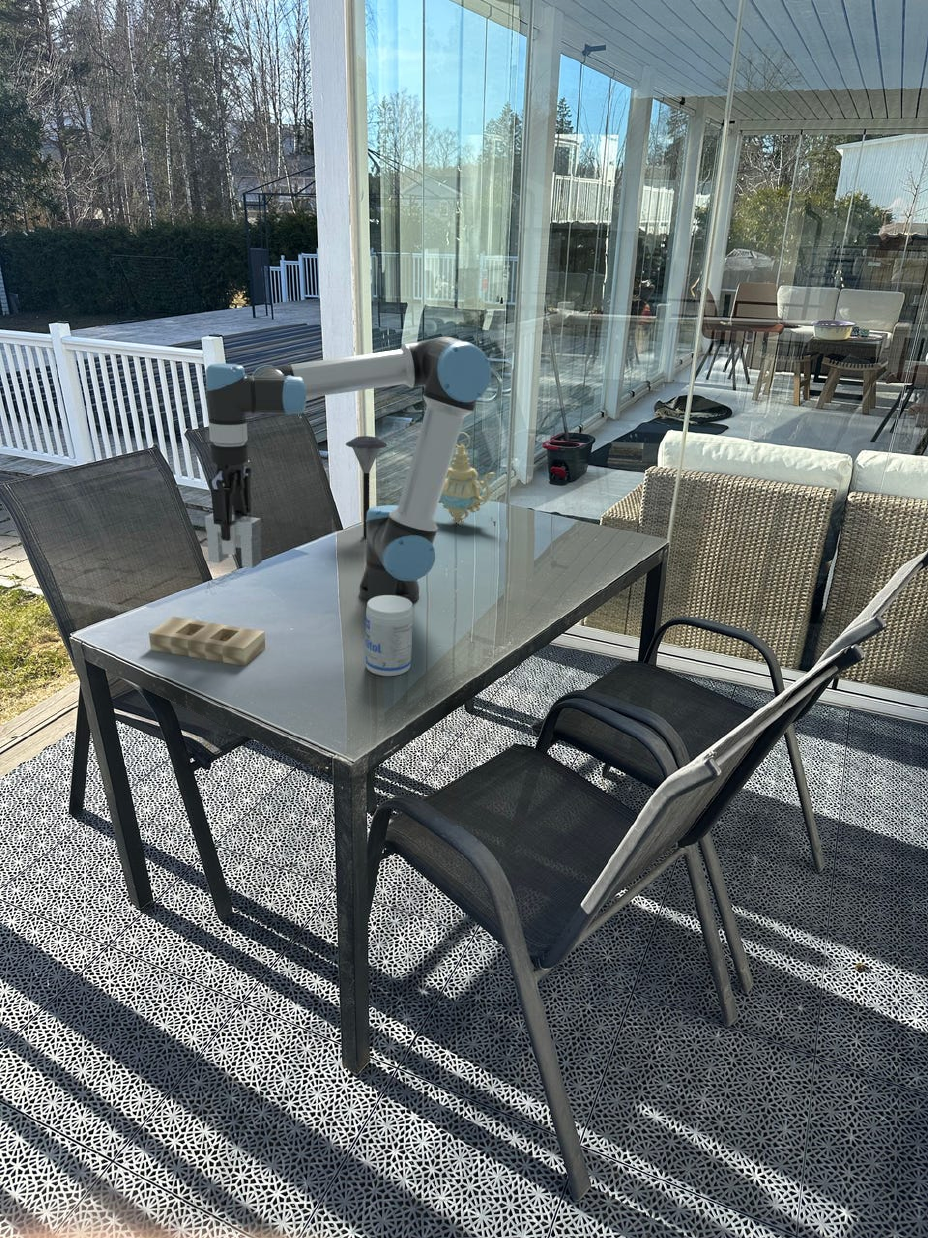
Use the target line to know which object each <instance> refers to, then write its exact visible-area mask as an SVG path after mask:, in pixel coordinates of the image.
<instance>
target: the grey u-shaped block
mask: <svg viewBox="0 0 928 1238" xmlns="http://www.w3.org/2000/svg"><path fill="white" fill-rule="evenodd" d="M204 523H205V524H204V525H205V531H206V537H207V538H206V539H207V553H208V562H212V563H219V564H220V563H221V562H223V561H225V560H227V559H228V558H229V557H230V554H223V552H222V538H221V526H220V525H217V524H214V520H213V512H212V513H210V514H207V515H205V516H204ZM231 525H234V532H235V535H240V536H241V548H240V550H241V551H240V552H241V567H243V568H249V569H253V568H256V567H257V566H259V565H260V564H261V563H262V560H263V559H262V540H261V539H262V538H261V537H262V536H261V533H262V519H261V518H260V517H259V518H258V517H253V516H252V517H251V516H250V517H246V516H239V515H234V514H232V524H231Z"/></svg>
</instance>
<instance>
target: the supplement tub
mask: <svg viewBox="0 0 928 1238" xmlns="http://www.w3.org/2000/svg"><path fill="white" fill-rule="evenodd" d="M365 611H366V612H365V650H364V651H365V656H364V657H365V659H364V660H365V668H367V670H368V671H369V672H371V673H372V674H374V675H378V676H382V677H396V676H400V675H403V674H405V673H406V672H408V671H409V669H410V668H411V665H412V662H411V661H412V644H413V641H412V639H413V622H414V620H413V618H414V607H413V602H411V601H410V600H408V599H406V598H404V597H401V596H395V595H382V596H377V597H374V598H372V599H370V600H369V601H368V602H367V604H366V610H365Z"/></svg>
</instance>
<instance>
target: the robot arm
mask: <svg viewBox="0 0 928 1238" xmlns="http://www.w3.org/2000/svg"><path fill="white" fill-rule="evenodd" d="M491 380H492V369H491V363H490V360H489V358H488V357H487V355H486V353H485V352H484V351H483V350H482V349H480V348H479V347H478V346H476V345H475V344H473V343H471V342H469V341H464V340H460V339H458V338H455V337H452V336H451V337H450V336H440V337H436V338H431V339H426V340H421V341H416V342H410V343H404V344H402V346H401V347H400V348H399V349H394V350H387V351H379V352H372V353H367V354H366V353H365V354H364V353H363V354H358V355H357V354H356V355H351V356H343V357H335V358H328V359H320V360H314V361H307V362H299V363H291V364H287V365H284V364H283V365H277V366H274V365H262V366H259V367H257V368H256V369H255V370H254V372H253V373H252V375H249V374H246V372H245V368H244V366H243V365H240V364H235V363H213V364H210V365H208V366H207V368H206V370H205V392H206V402H207V403H206V404H207V415H208V429H209V431H208V432H209V440H210V442H211V444H210V445H209V451H210V460H211V462H212V463H214V464H215V465H216V471H215V475H216V476H215V477H214V478H209V479H208V486H209V488H210V496H211V507H212V513H213V520H214V524H217V525H220V526H221V538H222V552H223V554H229V556H230V555H231V556H235V555H236V553H237V551H236V548H238V549H241V536H240V535H235V532H234V525H231V524H232V515H239V516H246V517H251V511H252V496H251V495H252V492H251V476H252V468H251V467H246V466H245V464H246V463H247V462H248V461H249V445H248V444H247V442H248V440H249V438H248V424H247V421H248V420H247V414H251V415H252V414H253V415H254V414H255V415H256V414H267V415H268V414H269V415H270V414H271V415H287V416H289V415H294V414H302V413H304V412H305V411H306V406H307V399H310V398H316V397H322V396H323V397H324V396H331V395H336V394H338V395H339V394H344V393H350V392H358V391H365V390H370V389H372V390H373V389H378V388H385V387H387V388H388V387H392V386H399V385H406V386H407V387H409V388H418V387H424V390H423V394H422V398H423V399H424V402H425V403H426V409H425V412H424V415H423V419H422V423H421V425H420V426H421V427H420V428H419V433H418V436H417V439H416V444H415V446H414V447H415V448H414V450H413V454H412V458H411V460H410V464H409V467H408V468H409V469H408V472H407V474H406V478H405V481H404V485H403V488H402V492H401V496H400V498H399V499H400V500H399V503H398V505H395V504H394V505H393V504H391V505H388V504H387V505H377V506H373V507H369V510H368V511H367V519H366V523H367V538H366V566H365V570H364V572H363V575H362V578H361V581H360V584H359V597H360V598H361V600H363V601H365V602H367V603H368V601H369V600H370V599H372V598H374V597H377V596H382V595H395V596H401V597H404V598H406V599H408V600H410V601H411V602H412V603H413V602H416V601H417V600H418V599H419V597H420V586H419V582H418V580H420V579H422V578H423V577H426V576H427V574H429V572H431V570H432V569H433V567H434V564H435V562H436V551H435V547H434V545H433V544H434V542H435V539H436V535H437V532H438V528H439V527H438V525H437V524H436V522H435V516H436V512H437V509H438V506H439V504H440V503H439V499H440V496H441V493H442V490H443V486H444V483H445V480H446V476H447V473H448V470H449V468H450V467H451V464H452V463H451V462H452V460H453V457H454V454H455V451H456V447H457V446H456V443H458V441H459V437H460V434H461V433H460V432H461V430H462V426H463V424H464V423H463V422H464V419H465V417H468V416H469V415H471V414H473V413H474V410H475V407H476V404H477V402H478V399H479V398H481V397H482V396H483V395H484V394H485V393H486V391H487V390H488V388H489V387H490V383H491Z"/></svg>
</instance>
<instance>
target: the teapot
mask: <svg viewBox="0 0 928 1238" xmlns="http://www.w3.org/2000/svg"><path fill="white" fill-rule="evenodd" d="M459 434H464V435H465V436H466V437H467V438H468V443H467V445H466V446H465V444H464V443H463V442H461V443H460V444H457V443H458V442H457V443H456V447H457V448H458V449H459V451H458V450H457V449H455V452H454V455H455V457H454V458H453V457H452V460H453V461H454V462H452V463H451V466H449V470H448V473H447V476H446V480H445V483H444V486H443V490H442V493H441V496H440V499H439V503H438V504H442V507H443V509H445V510H448V513H449V515H450V516H451V517H452V522H453V523H455V524H456V523H457V524H459V525H461V524H465V523H464V522H465V521H464V519H466V518H467V517H469V512H470V513H475V512H479V511H480V510H481V506H484V504H486V503H488V501H489V500H490V499H491V496H492V489H491V486H490V483H489V482H488V476H490V478H491V480H493V479H495V478H496V474H495V472H488V473H486V474H485V475H484V476H483V479H482V480H481V481H480V482H479V481H478V480H477V479H478V478H479V473H478V472H477V469H476V468H473V467H471V466H470V465H471V463H470V462H469V460H470V458H468V455H469V453H468V452H469V451H467V450H466V448H468V447H469V446H470V444H471V437H470V436H469V435H468V434H467V433H466V432H464V431H463V432H462V431H460V433H459ZM482 486H485V491H486V492H485V496H484V497H483V494H484V490H483V487H482ZM463 516H464V517H463ZM457 524H456V525H457Z"/></svg>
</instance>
